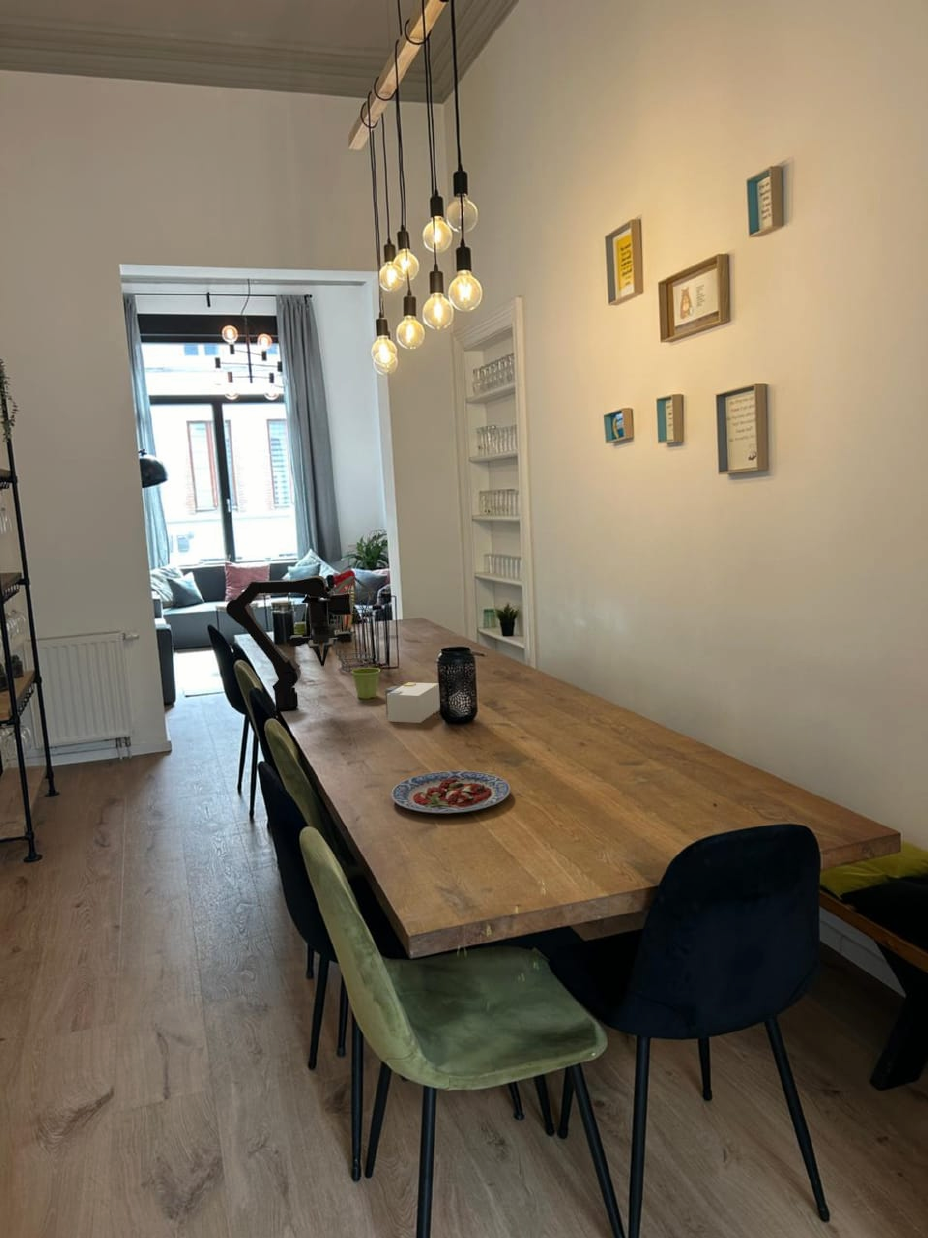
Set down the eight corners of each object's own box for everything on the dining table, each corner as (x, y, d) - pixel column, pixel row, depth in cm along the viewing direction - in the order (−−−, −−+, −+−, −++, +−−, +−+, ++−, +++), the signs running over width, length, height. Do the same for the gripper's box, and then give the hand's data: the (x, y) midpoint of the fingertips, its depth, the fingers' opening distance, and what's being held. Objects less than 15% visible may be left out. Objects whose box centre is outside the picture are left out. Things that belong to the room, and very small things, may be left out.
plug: (386, 714, 265) (385, 689, 264) (393, 710, 270) (392, 685, 269) (415, 716, 262) (414, 691, 261) (422, 711, 267) (421, 687, 265)
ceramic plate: (445, 772, 211) (445, 760, 211) (534, 793, 195) (533, 780, 194) (366, 805, 192) (366, 792, 191) (457, 831, 175) (457, 817, 175)
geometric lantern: (331, 666, 343) (327, 576, 338) (371, 663, 347) (368, 574, 343) (338, 673, 328) (334, 579, 323) (380, 670, 332) (376, 577, 328)
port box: (387, 721, 259) (386, 693, 258) (409, 707, 274) (407, 681, 273) (420, 723, 256) (418, 694, 254) (439, 709, 270) (438, 682, 269)
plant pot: (384, 693, 295) (382, 667, 293) (378, 700, 285) (377, 673, 284) (356, 693, 296) (354, 668, 294) (350, 700, 286) (348, 674, 285)
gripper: (287, 622, 265) (291, 674, 268) (350, 618, 269) (354, 668, 271) (288, 617, 276) (292, 666, 279) (348, 613, 280) (351, 662, 282)
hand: (322, 666), depth 277 cm, fingers closed
